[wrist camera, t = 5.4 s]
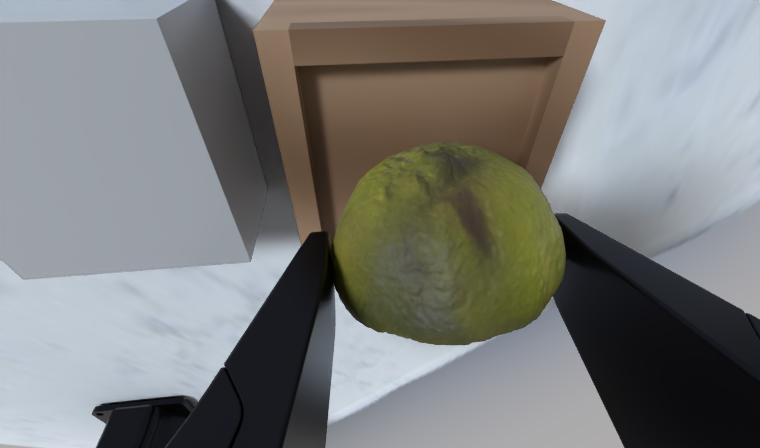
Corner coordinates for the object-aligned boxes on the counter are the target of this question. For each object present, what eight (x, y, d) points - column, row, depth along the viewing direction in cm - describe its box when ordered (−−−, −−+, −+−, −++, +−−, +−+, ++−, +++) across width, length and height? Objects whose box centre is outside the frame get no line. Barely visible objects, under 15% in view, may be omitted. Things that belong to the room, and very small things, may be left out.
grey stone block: (267, 190, 14) (250, 261, 11) (90, 201, 14) (23, 279, 11) (211, -13, 9) (156, 18, 7) (-63, -8, 9) (-258, 29, 6)
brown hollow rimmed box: (479, 190, 15) (514, 255, 12) (312, 201, 15) (307, 272, 12) (527, -9, 10) (605, 20, 7) (277, -4, 10) (253, 30, 7)
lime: (528, 177, 10) (661, 323, 6) (405, 270, 12) (442, 429, 8) (431, 60, 8) (538, 166, 4) (297, 197, 9) (271, 369, 5)
